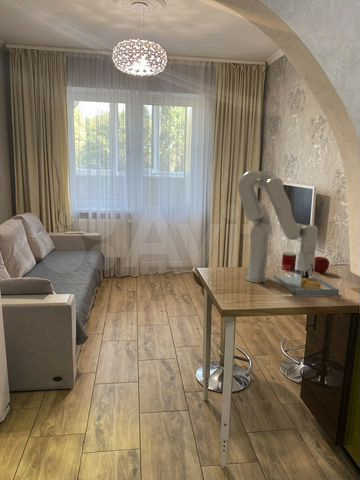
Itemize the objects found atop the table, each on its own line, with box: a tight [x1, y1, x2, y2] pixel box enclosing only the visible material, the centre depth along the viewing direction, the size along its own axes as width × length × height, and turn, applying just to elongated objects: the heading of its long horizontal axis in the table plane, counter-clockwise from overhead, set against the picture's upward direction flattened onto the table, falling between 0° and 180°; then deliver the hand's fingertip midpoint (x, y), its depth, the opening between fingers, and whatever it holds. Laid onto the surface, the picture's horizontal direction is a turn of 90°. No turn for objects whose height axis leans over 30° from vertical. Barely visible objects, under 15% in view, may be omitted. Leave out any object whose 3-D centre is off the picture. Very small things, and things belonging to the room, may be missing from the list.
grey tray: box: [272, 273, 340, 297], centre depth 192 cm, size 26×23×3 cm
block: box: [301, 278, 322, 289], centre depth 186 cm, size 7×7×4 cm
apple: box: [313, 256, 330, 274], centre depth 219 cm, size 10×10×10 cm
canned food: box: [281, 251, 297, 272], centre depth 221 cm, size 8×8×11 cm
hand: (304, 282), depth 192 cm, fingers closed
